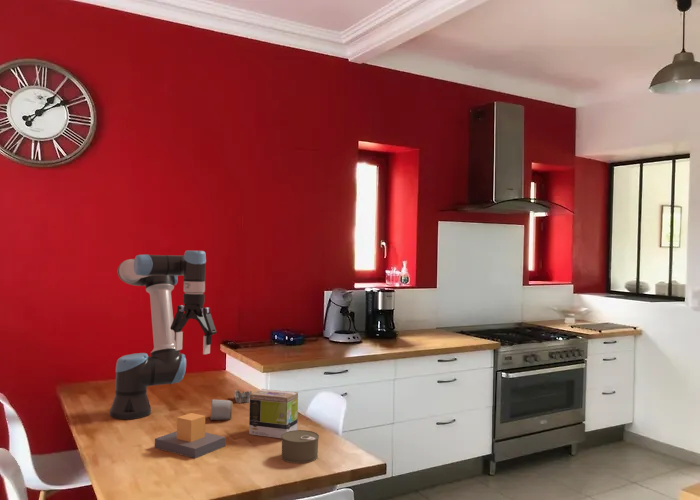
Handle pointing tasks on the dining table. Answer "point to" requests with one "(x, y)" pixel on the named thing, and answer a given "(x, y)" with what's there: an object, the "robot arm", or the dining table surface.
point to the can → (299, 446)
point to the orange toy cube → (190, 427)
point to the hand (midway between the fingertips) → (192, 351)
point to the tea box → (273, 412)
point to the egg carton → (242, 396)
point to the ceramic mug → (221, 410)
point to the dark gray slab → (190, 444)
